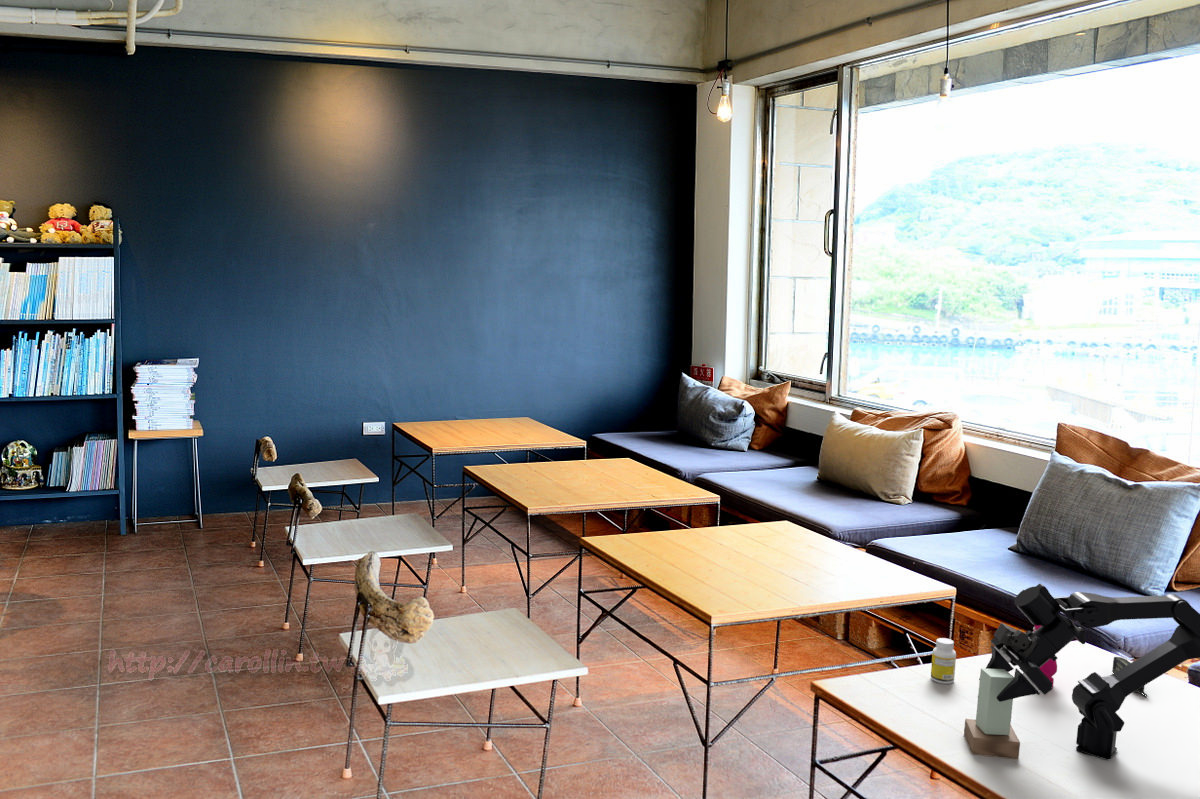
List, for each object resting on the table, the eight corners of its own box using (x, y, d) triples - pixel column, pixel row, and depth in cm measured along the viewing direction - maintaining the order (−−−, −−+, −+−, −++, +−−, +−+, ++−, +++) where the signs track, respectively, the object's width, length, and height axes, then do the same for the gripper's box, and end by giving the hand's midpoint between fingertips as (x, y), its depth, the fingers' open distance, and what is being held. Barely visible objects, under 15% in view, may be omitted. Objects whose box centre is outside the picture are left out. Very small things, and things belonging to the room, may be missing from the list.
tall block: (998, 725, 217) (1004, 669, 216) (1009, 735, 212) (1015, 677, 211) (975, 724, 217) (980, 668, 216) (985, 734, 212) (991, 676, 211)
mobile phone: (1111, 654, 259) (1139, 676, 244) (1123, 655, 258) (1152, 677, 243) (1109, 674, 259) (1137, 697, 244) (1121, 674, 259) (1150, 698, 244)
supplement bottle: (935, 673, 253) (938, 635, 252) (957, 680, 250) (961, 640, 249) (926, 680, 249) (930, 640, 248) (948, 686, 246) (952, 646, 244)
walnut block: (1008, 741, 218) (1009, 723, 218) (1018, 761, 210) (1020, 742, 209) (963, 736, 220) (965, 718, 219) (971, 756, 211) (973, 737, 211)
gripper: (1004, 598, 220) (948, 646, 222) (1042, 628, 202) (980, 681, 203) (1037, 635, 221) (981, 683, 223) (1078, 669, 203) (1017, 720, 204)
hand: (989, 690), depth 213 cm, fingers open, 9 cm apart
